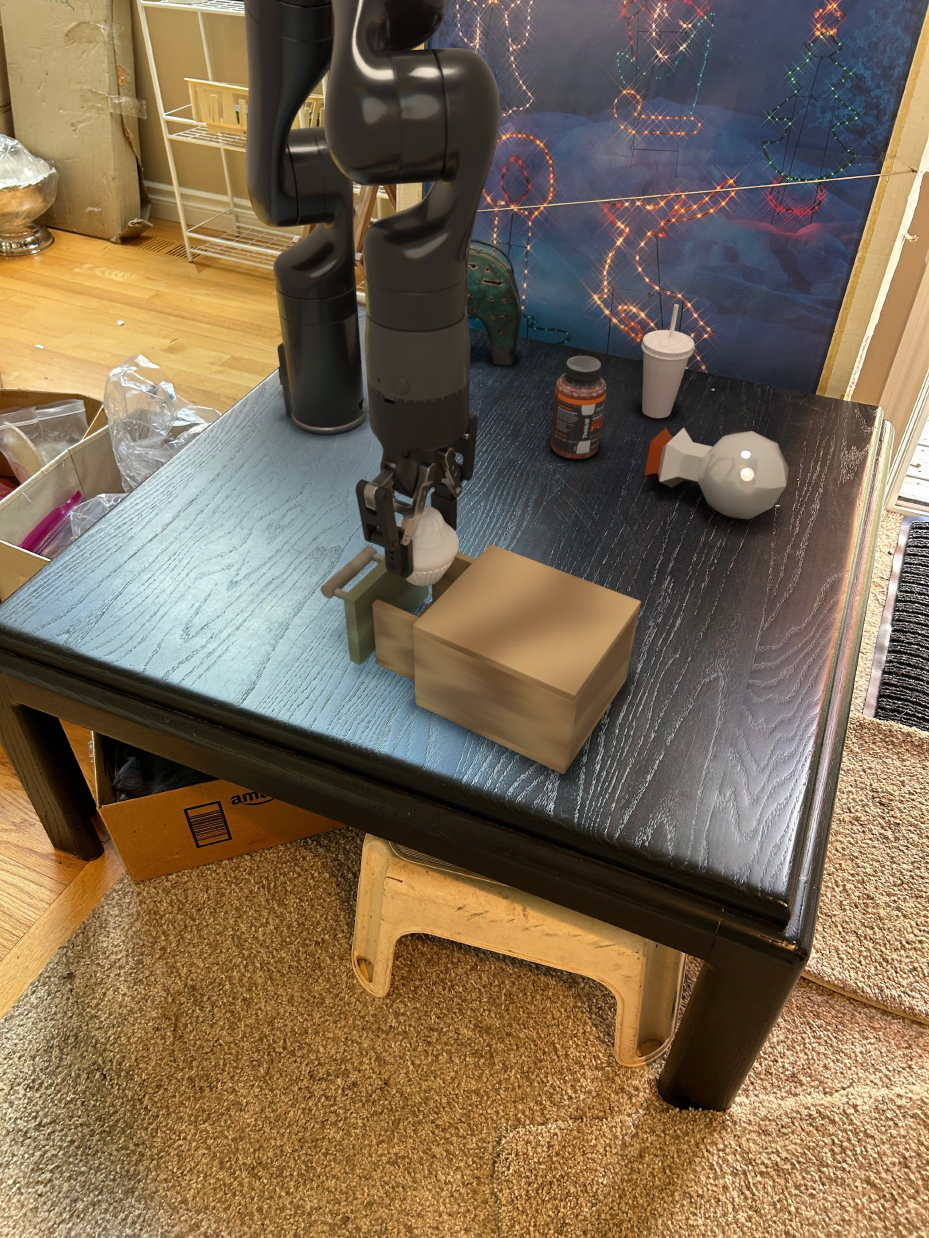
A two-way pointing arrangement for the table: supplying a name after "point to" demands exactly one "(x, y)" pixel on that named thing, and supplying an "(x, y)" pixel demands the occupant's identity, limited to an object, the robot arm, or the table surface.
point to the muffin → (431, 547)
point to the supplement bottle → (578, 409)
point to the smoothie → (664, 368)
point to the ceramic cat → (494, 299)
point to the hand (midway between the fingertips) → (422, 550)
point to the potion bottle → (723, 470)
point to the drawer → (385, 609)
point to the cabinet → (524, 655)
